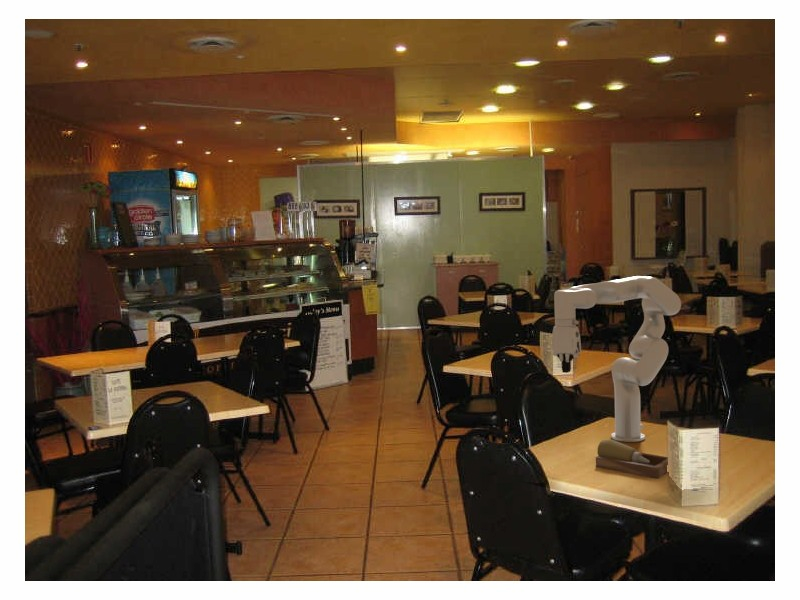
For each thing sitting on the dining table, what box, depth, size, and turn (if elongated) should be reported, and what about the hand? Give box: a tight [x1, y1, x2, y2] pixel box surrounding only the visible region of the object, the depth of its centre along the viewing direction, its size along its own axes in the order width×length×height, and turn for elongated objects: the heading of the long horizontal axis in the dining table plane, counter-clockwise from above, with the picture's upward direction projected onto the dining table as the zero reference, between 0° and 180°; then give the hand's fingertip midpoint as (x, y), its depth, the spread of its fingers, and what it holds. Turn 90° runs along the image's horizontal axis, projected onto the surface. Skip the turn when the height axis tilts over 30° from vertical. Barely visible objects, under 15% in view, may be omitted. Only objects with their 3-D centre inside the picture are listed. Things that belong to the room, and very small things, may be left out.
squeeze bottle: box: [596, 439, 650, 464], centre depth 258 cm, size 8×8×18 cm
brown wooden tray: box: [595, 452, 669, 480], centre depth 256 cm, size 13×22×4 cm, turn 48°
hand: (566, 371), depth 280 cm, fingers closed
